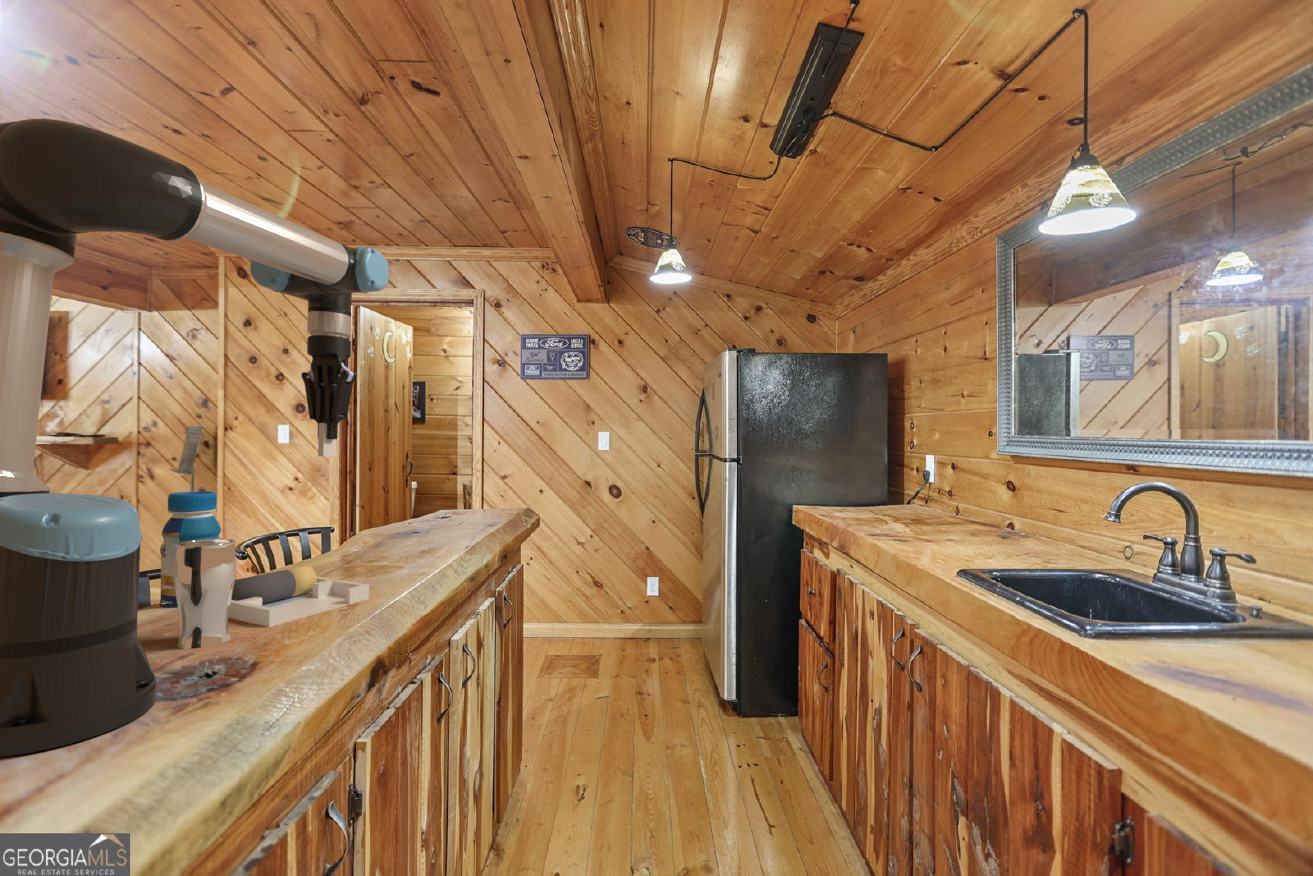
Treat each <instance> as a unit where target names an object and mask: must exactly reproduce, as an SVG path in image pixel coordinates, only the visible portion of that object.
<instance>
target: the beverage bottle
mask: <svg viewBox="0 0 1313 876" xmlns="http://www.w3.org/2000/svg"><path fill="white" fill-rule="evenodd" d="M217 502H218V495H217V492H215V491H209V490H208V491H205V490H204V491H203V490H201V491H198V490H197V491H181V492H180V491H179V492H178V491H177V492H171V493H169V494H168V497H167V511H168V513H169V514H172V515H171V517H170V518H169V519H168V520H167V521H166V523H165V525H163V528H162V530H161V537H162V538H163V542H162V543H161V545H160V548H159V551H160V552H159V553H160V599H159V600H160V601H159V607H161V608H167V609H176V608H177V609H178V604H177V599H176V594H175V587H174V567H175V558H176V551H177V544H179V543H182V542H187V541H193V540H202V539H220V537H219V536H220V534H221V532H222V528H221V523H219V520H218V519H217V517H216V516H215V515H214V514H213V513H212V512H214V511H216V510H217V507H218V506H217V505H218V503H217ZM167 602H168V603H167ZM161 603H166V604H161Z"/></svg>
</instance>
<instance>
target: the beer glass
mask: <svg viewBox="0 0 1313 876" xmlns="http://www.w3.org/2000/svg"><path fill="white" fill-rule="evenodd" d="M236 575H237V555H236V540H235V539H232V538H219V539H202V540H193V541H187V542H182V543H179V544H177V551H176V558H175V567H174V587H175V594H176V599H177V604H178V608H177V609H178V613H179V619H180V630H179V631H180V633H179V637H178V641H177V644H176V645H177V647H178V648H180V649H186V650H191V649H192V650H193V649H202V648H208V647H212V646H217V645H221V644H223V643H225V642H228V641H229V640H230V638H231V635H230V631H229V622H228V621H229V618H228V612H229V607H230V603H231V599H232V594H233V590H234V584H235V580H236V579H237V578H236V577H237V576H236Z"/></svg>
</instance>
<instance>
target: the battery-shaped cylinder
mask: <svg viewBox="0 0 1313 876" xmlns="http://www.w3.org/2000/svg"><path fill="white" fill-rule="evenodd" d="M317 577H318V576H317V573H316V571H315V570H314V568H313V567H312V566H310V565H303V566H298V567H293V568H288V569H283V570H278V571H273V572H269V573H263V574H259V575H254V576H253V575H252V576H249V577H243V578H238V579H237V578H236V579H235V584H234V590H233V594H232V599H231V600H235V601H239V600H244V599H248V598H252V597H261V598H262V604H265V603H269V602H273V601H277V600H281V599H285V598H289V597H294V596H298V595H302V594H306V593H310V592H312V591H313V583H317Z"/></svg>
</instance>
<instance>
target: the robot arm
mask: <svg viewBox="0 0 1313 876" xmlns="http://www.w3.org/2000/svg"><path fill="white" fill-rule="evenodd" d="M97 232H99V233H101V232H103V233H104V232H108V233H109V232H113V233H115V232H117V233H118V232H119V233H131V234H132V233H133V234H139V235H145V236H148V237H153V238H155V239H158V240H161V241H166V242H175V241H180V240H182V239H185V240H189V241H191V242H193V243H196V244H197V243H198V244H200V245H202V246H206V247H210V248H213V249H215V250H217V251H218V250H219V251H221V252H225V253H227V254H231V255H234V256H238V257H240V258H243V259H246V260H250V265H249V270H250V275H251V278H252V279H253V280H254V282H255V283H256V284H258V285H260V286H261V287H264V288H267V289H268V290H271V291H272V292H275V293H280V294H284V295H287V296H292V297H294V298H297V299H301V300H304V301H307V333H308V334H309V336H308V337H307V341H306V342H307V343H306V346H307V347H306V351H307V352H306V354H308V356H310V357H311V358H312V360H311V363H310V369H308V371H307V372H306V371H303V372H301V379H302V380H303V383H304V389H305V396H306V403H307V410H308V417H309V420H314V421H315V422H316V423H317V434H316V435H317V439H318V443H317V444H318V446H317V448H318V449H317V451H318V452H317V456H318V457H337V439H338V431H339V430H338V426H339V424H340V422H342V421H346V419H347V416H348V411H349V407H350V402H351V396H352V392H353V386H354V383H355V380H356V379H357V376H358V373H357V372H356V371H351V370H350V369H349V367H348V362H347V360H348V359H349V358H351V356H352V355H351V354H352V352H351V351H352V349H351V348H352V341H351V340H350V339H349V338H350V337H352V299H353V298H352V295H353V294H357V293H359V294H360V293H362V294H368V293H373V292H375V293H376V292H381V291H382V290H384V289H385V288H386V287H387V285H388V283H389V279H390V277H389V271H390V269H389V265H388V262H387V260H386V257H385V256H384V255H383V253H381V251H380V250H378V249H376V248H373V247H363V246H359V247H351V246H348V245H345V244H343V243H341V242H338V241H336V240H334V239H332V238H329V237H327V236H324V235H322V234H320V233H318V232H316V231H314V230H311V229H309V228H307V227H304V226H302V225H300V224H298V223H296V222H293V221H291V220H288V219H286V218H284V217H281V216H279V215H277V214H275V213H273V212H270V211H268V210H266V209H264V208H262V207H259V206H257V205H255V204H253V203H250V202H248V201H246V200H243V199H241V198H239V197H236V196H234V195H232V194H230V193H227V192H225V191H223V190H221V189H219V188H216V187H214V186H211V185H209V184H207V183H205V182H203V181H201V179H200V178H199V176H198V175H197V173H195V171H194V170H192V169H191V168H190V167H188V166H187V165H184V164H183V163H180V162H179V161H175V160H174V159H171V158H169V157H167V156H165V155H163V154H161V153H158V152H156V151H154V150H151V149H148V148H146V147H144V146H142V145H139V144H137V143H134V142H132V141H129V140H127V139H124V138H122V137H119V136H116V135H113V134H111V133H108V132H106V131H103V130H99V129H96V128H92V127H90V126H87V125H82V124H79V123H75V122H71V121H66V120H59V119H51V118H28V119H21V120H18V121H9V122H8V121H7V122H2V123H1V122H0V757H1V758H2V757H10V756H19V755H25V754H31V753H36V752H40V751H45V750H51V749H54V748H59V747H62V746H66V745H70V744H74V743H76V742H80V741H84V740H86V739H90V738H93V737H96V736H99V735H102V734H104V733H107V732H110V731H112V730H114V729H117V728H119V727H122V726H123V725H126V724H128V723H130V722H132V721H134V720H136V719H137V718H140V717H141V716H143V715H144V714H146V713H147V712H148V711H149V710H151V709H152V707H153V706H154V705H155V704H156V702H157V685H158V684H157V679H156V675H155V673H154V671H153V669H152V666H151V663H150V661H149V660H148V657H147V655H146V652H145V650H144V647H143V646H142V645H143V644H142V643H141V641H140V638H139V636H138V611H139V609H138V607H139V589H140V587H139V584H140V564H141V563H140V559H141V543H142V541H143V540H142V539H143V538H142V537H143V536H142V533H141V525H140V516H139V512H138V510H137V508H136V507H135V506H134V505H133V504H131V503H130V502H128V501H126V500H124V499H123V500H122V499H121V498H115V497H111V496H105V495H97V494H86V493H85V494H74V493H63V492H61V493H60V492H58V493H57V492H54V493H51V492H50V491H51V490H50V489H51V488H50V486H48V485H47V484H46V483H44V482H43V481H42V480H41V479H40V478H38V477H37V476H36V475H35V473H34V465H35V455H36V446H37V437H38V427H39V419H40V418H39V417H40V408H41V407H40V406H41V398H42V388H43V380H44V370H45V360H46V353H47V352H46V350H47V343H48V341H47V340H48V333H49V331H48V330H49V323H50V314H51V313H50V312H51V303H52V296H53V295H52V294H53V287H54V286H53V285H54V275H55V274H56V273H57V272H59V271H61V270H63V269H65V268H67V267H70V266H72V265H73V264H74V260H75V251H76V243H77V234H84V233H85V234H86V233H97Z"/></svg>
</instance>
